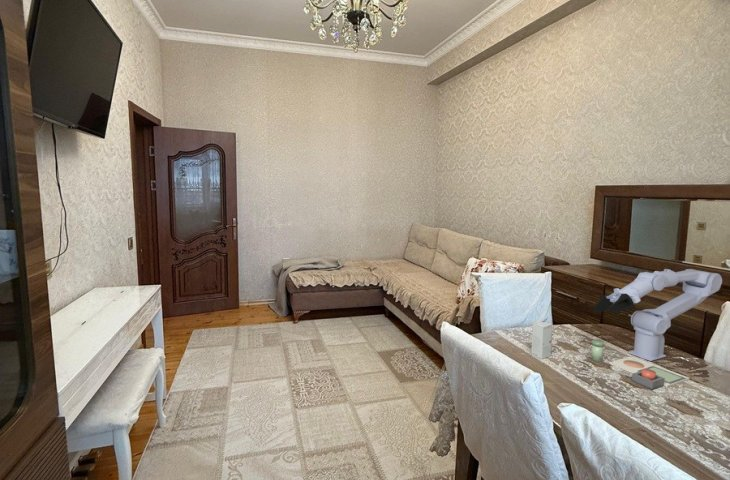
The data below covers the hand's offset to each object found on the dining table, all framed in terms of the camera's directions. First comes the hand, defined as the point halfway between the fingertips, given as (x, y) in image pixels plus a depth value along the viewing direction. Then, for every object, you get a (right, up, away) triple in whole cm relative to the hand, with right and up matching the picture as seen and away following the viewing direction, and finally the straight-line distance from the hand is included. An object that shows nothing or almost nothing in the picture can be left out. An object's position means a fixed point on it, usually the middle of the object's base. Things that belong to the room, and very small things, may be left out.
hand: (602, 310), depth 133 cm
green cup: (0, -18, +4) cm, 19 cm away
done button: (+6, -19, -13) cm, 24 cm away
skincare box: (-18, -18, +8) cm, 27 cm away
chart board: (+12, -19, -5) cm, 23 cm away
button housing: (+6, -20, -13) cm, 25 cm away
